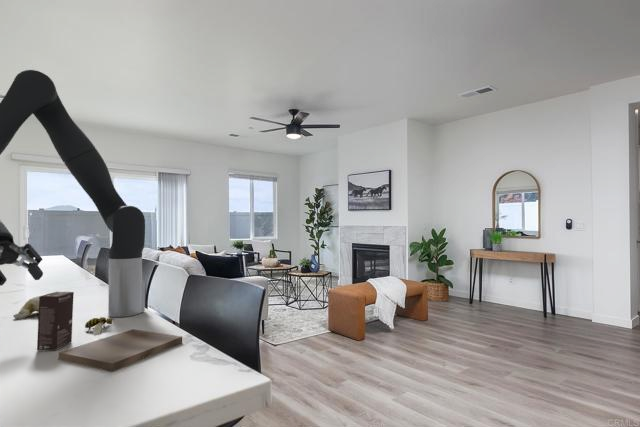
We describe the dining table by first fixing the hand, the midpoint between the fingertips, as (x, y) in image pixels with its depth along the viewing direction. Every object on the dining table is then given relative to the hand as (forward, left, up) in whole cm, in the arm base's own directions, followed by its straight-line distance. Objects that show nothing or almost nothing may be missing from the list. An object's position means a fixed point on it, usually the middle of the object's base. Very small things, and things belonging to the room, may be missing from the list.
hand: (22, 280), depth 89 cm
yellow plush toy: (-20, -27, -15) cm, 37 cm away
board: (-6, +27, -15) cm, 31 cm away
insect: (-15, +6, -15) cm, 22 cm away
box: (-2, +10, -15) cm, 18 cm away
